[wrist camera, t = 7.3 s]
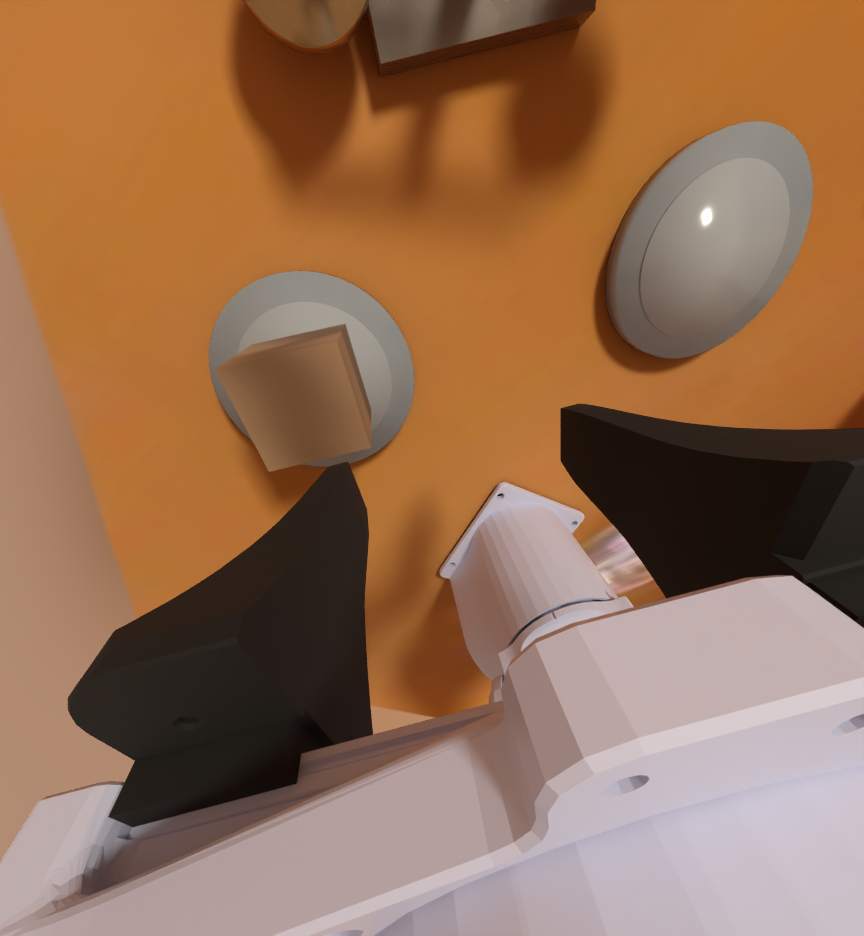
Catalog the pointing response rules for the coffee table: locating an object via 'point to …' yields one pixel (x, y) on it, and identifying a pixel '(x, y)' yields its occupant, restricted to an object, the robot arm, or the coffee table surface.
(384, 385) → the left dish
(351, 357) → the walnut block
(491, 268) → the coffee table surface
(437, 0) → the bronze balance
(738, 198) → the right dish
